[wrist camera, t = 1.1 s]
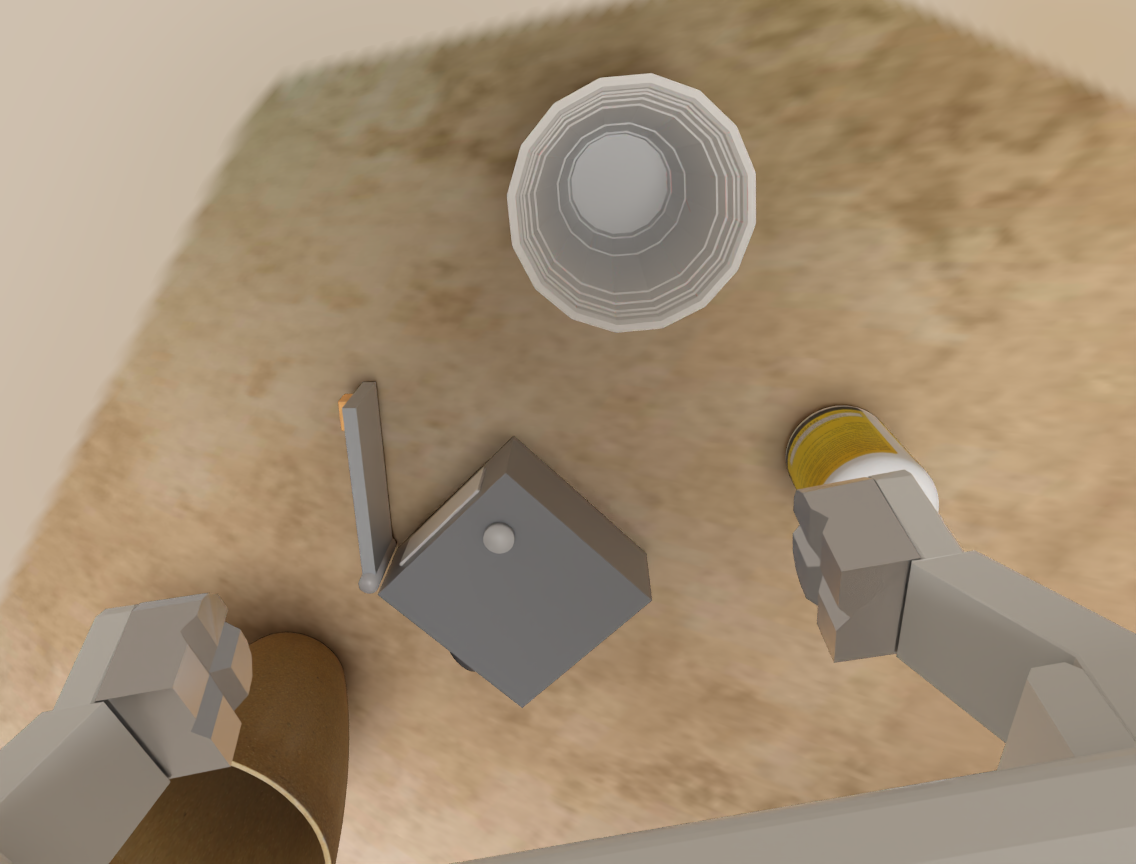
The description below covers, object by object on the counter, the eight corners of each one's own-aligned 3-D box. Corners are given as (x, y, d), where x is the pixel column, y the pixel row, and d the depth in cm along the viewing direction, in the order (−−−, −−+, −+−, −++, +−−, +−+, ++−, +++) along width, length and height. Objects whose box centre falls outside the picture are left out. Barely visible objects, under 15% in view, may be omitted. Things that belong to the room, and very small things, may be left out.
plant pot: (435, 656, 59) (383, 845, 44) (329, 783, 63) (249, 992, 49) (250, 543, 56) (127, 706, 41) (153, 686, 60) (10, 877, 46)
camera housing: (646, 553, 55) (652, 605, 50) (518, 662, 59) (510, 722, 53) (511, 434, 52) (502, 474, 47) (385, 556, 56) (363, 607, 50)
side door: (378, 381, 51) (357, 410, 46) (396, 551, 55) (379, 593, 51) (351, 382, 51) (327, 410, 46) (371, 551, 55) (351, 593, 51)
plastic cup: (738, 251, 48) (783, 298, 37) (557, 301, 49) (547, 361, 38) (696, 51, 44) (732, 36, 33) (501, 111, 45) (472, 117, 34)
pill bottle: (762, 447, 52) (806, 539, 41) (846, 380, 50) (915, 458, 40) (825, 515, 54) (883, 620, 43) (909, 452, 52) (991, 545, 41)
